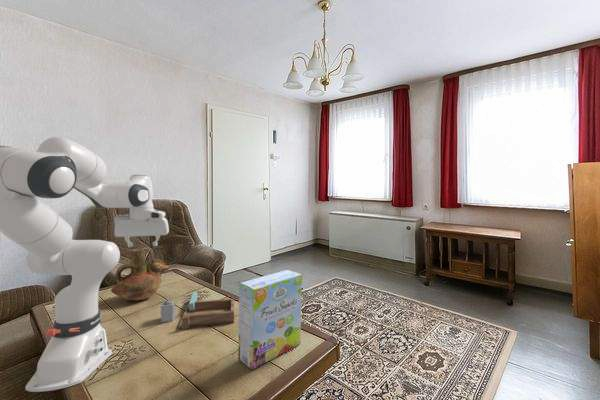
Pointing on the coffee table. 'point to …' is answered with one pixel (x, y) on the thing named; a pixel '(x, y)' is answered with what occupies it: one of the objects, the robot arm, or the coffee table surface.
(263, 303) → the snack box
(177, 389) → the coffee table surface
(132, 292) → the ceramic vessel
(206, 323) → the brown wooden tray
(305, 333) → the coffee table surface
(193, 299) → the retainer bar
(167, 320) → the jaw block
